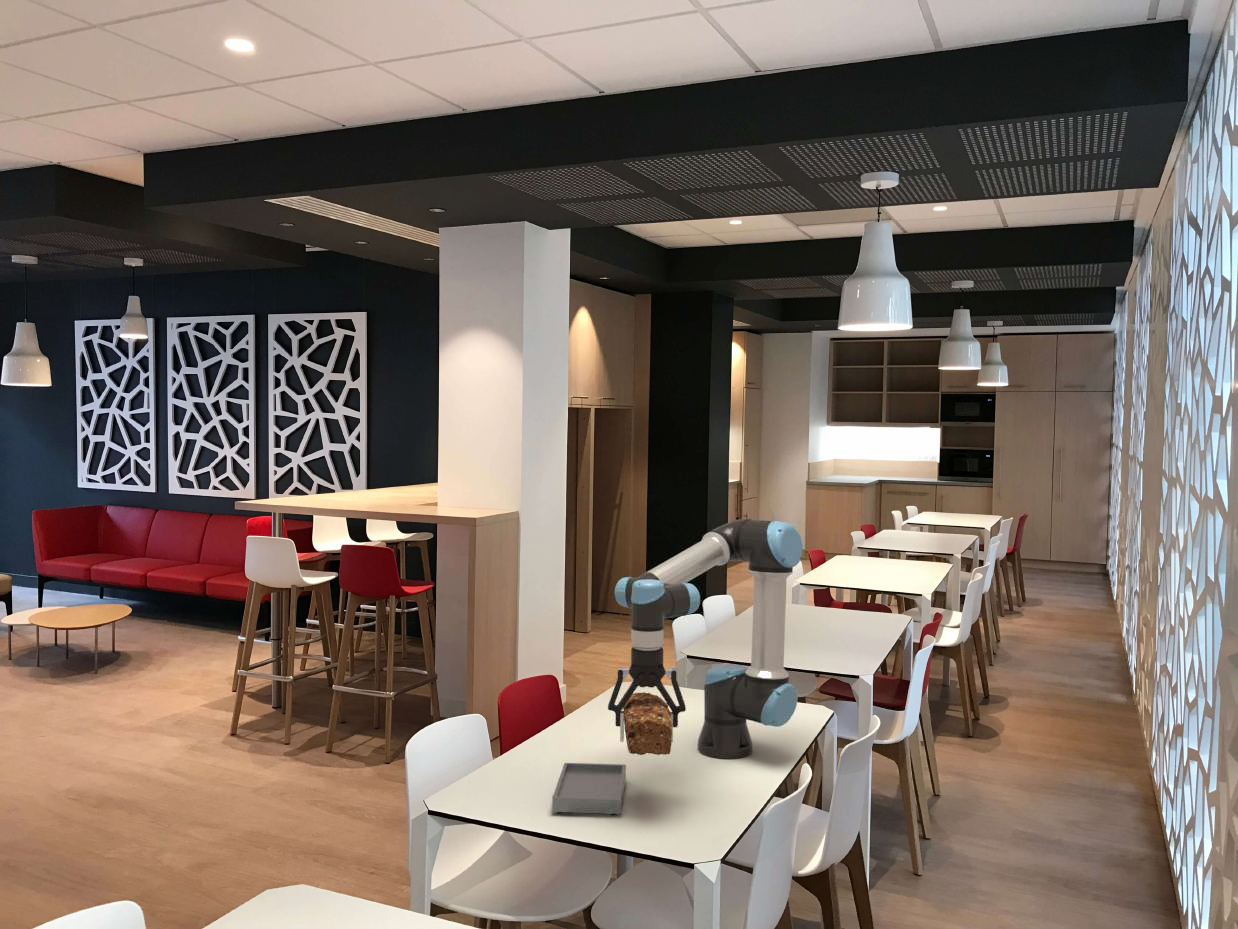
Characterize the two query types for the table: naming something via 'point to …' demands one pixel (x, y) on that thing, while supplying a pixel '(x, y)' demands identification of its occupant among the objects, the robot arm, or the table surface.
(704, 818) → the table surface
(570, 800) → the grey serving tray
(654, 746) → the bread
